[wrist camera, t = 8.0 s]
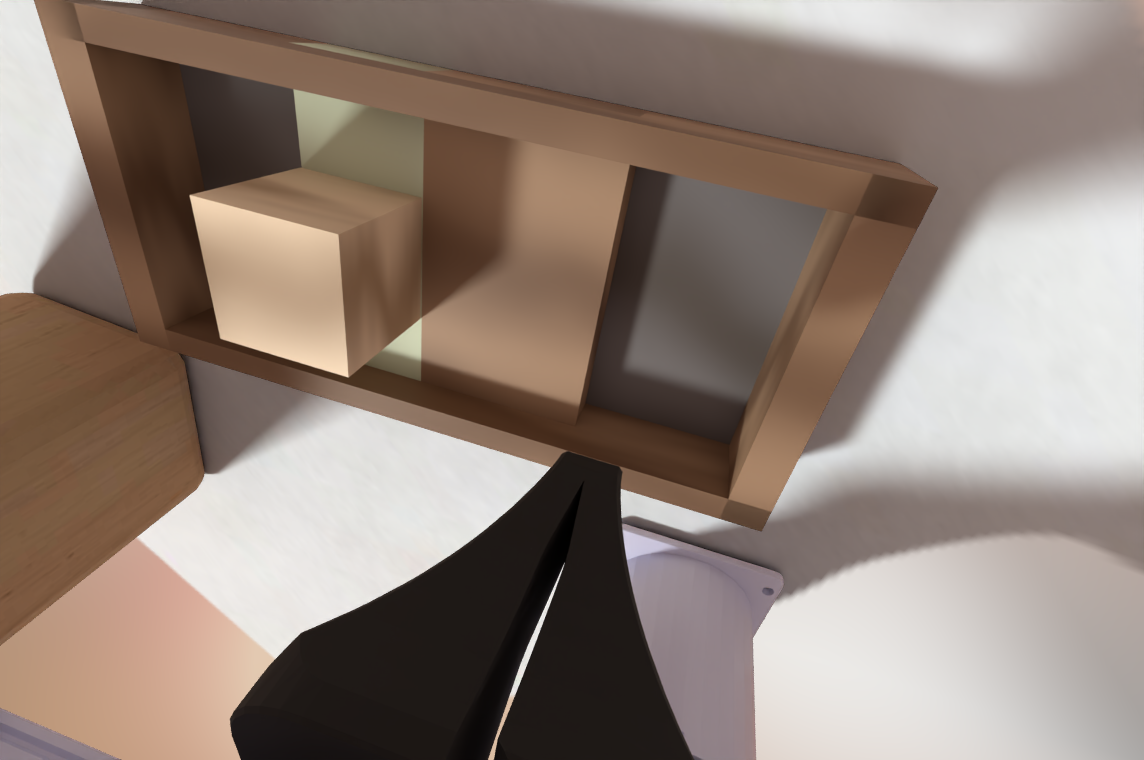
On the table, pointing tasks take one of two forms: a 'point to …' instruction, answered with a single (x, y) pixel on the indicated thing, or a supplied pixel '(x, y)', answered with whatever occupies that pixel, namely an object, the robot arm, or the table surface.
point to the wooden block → (82, 448)
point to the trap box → (508, 245)
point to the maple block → (311, 266)
